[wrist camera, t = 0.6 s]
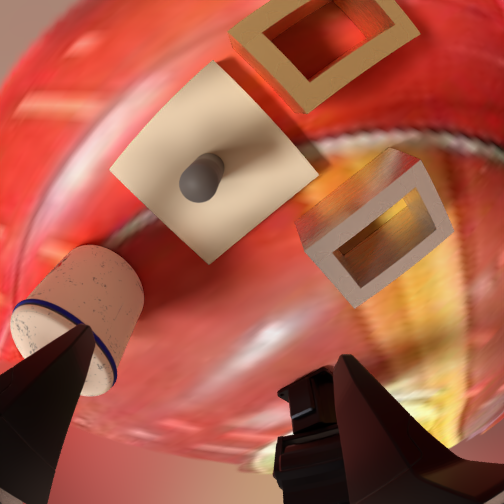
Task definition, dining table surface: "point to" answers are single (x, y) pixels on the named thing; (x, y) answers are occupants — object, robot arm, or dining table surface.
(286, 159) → the keeper
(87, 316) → the teacup with lid
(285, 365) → the dining table surface
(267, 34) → the link
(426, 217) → the link
